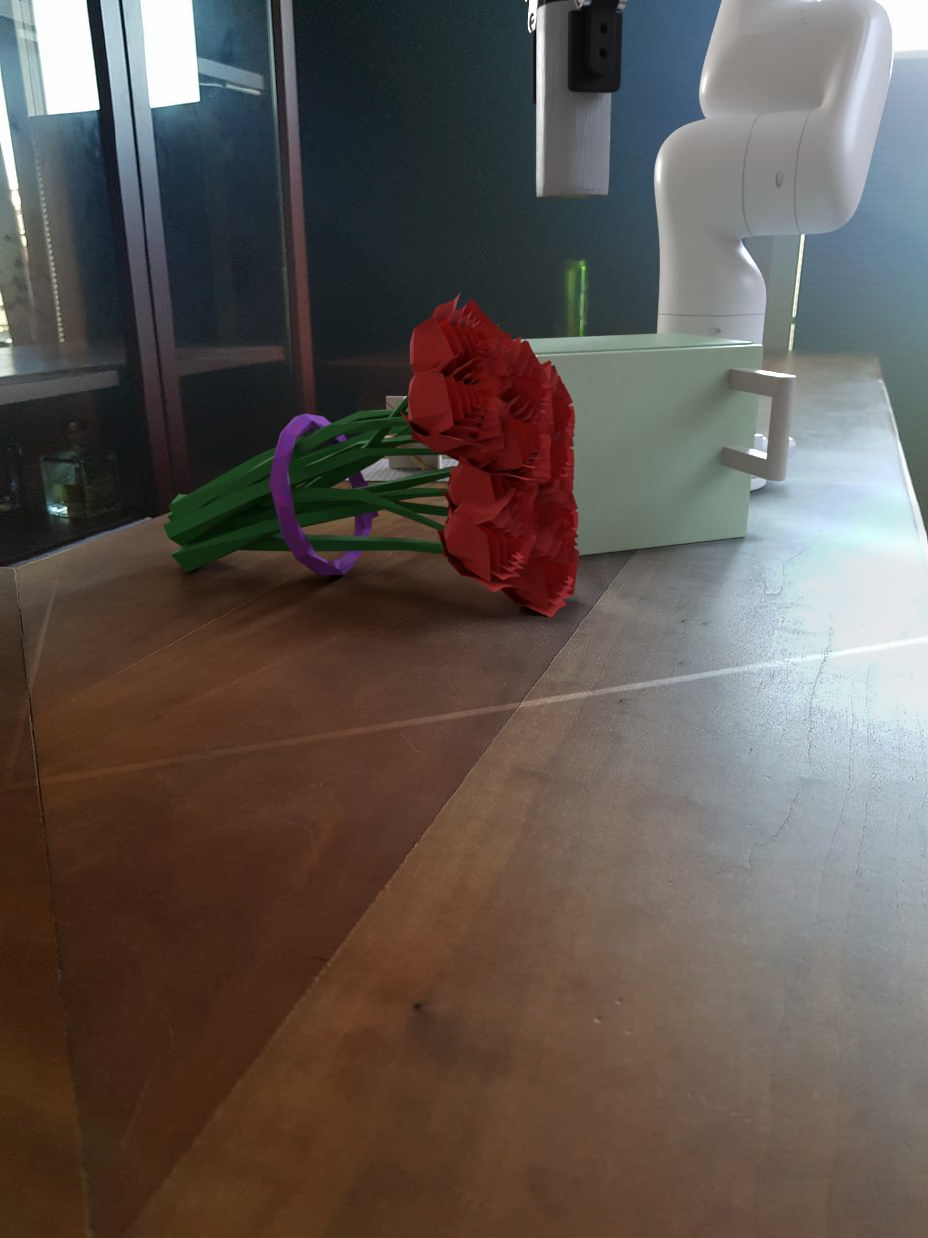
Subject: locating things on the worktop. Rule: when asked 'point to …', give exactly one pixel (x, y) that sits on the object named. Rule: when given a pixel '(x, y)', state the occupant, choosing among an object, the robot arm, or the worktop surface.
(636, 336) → the cupboard
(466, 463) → the bouquet
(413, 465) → the architectural model
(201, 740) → the worktop surface
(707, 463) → the door
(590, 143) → the planter
